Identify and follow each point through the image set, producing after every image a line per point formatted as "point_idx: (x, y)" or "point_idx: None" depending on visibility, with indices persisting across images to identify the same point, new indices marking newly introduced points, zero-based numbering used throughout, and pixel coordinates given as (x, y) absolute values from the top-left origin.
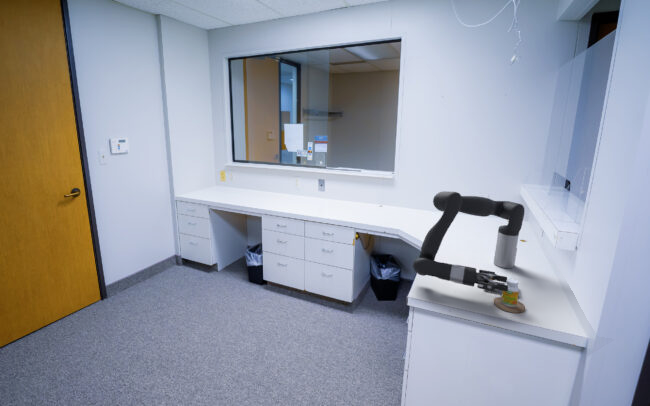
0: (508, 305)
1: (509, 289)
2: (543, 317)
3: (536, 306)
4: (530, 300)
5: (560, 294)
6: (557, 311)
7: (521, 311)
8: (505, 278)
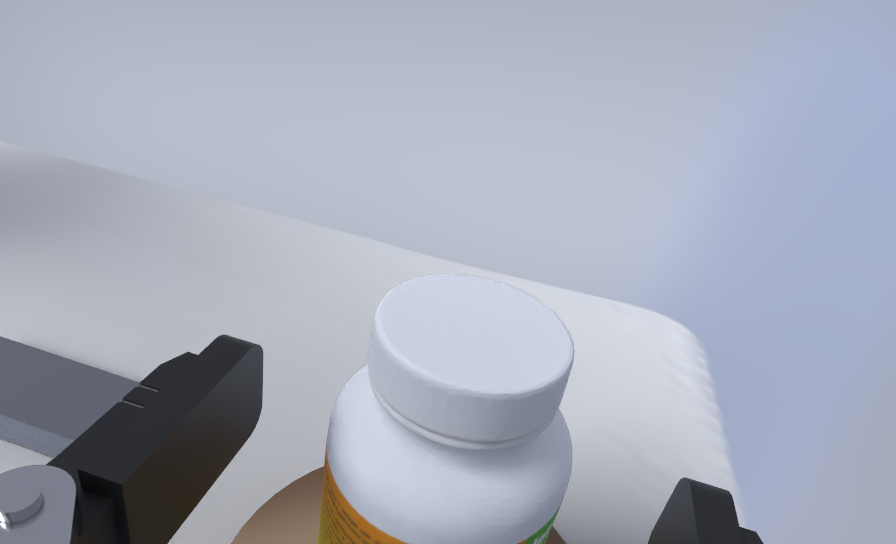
0: None
1: (564, 487)
2: None
3: None
4: None
5: (174, 193)
6: None
7: (554, 534)
8: (245, 375)
